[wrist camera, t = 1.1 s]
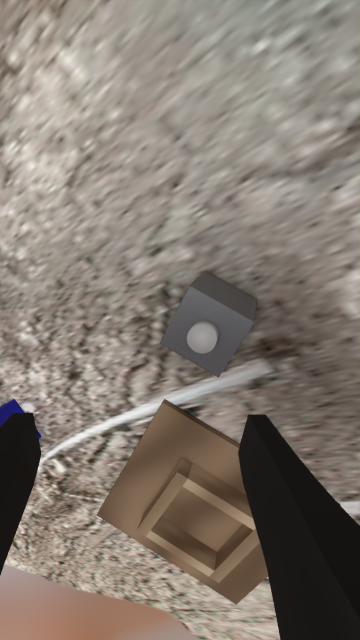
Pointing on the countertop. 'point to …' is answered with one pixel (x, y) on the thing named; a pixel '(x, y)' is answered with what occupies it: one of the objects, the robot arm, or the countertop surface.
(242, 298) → the connector plug
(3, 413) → the cable clip
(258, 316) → the countertop surface
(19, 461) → the robot arm
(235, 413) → the countertop surface
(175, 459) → the end holder
